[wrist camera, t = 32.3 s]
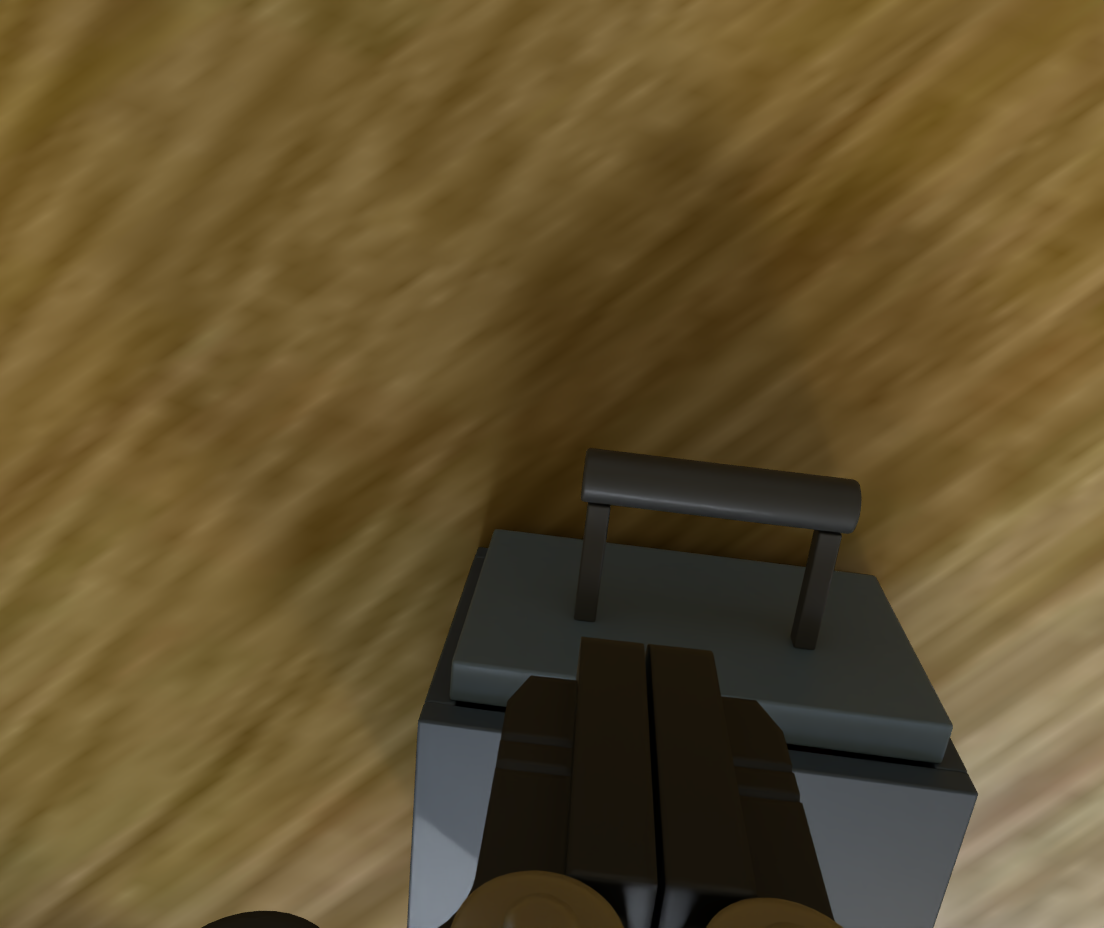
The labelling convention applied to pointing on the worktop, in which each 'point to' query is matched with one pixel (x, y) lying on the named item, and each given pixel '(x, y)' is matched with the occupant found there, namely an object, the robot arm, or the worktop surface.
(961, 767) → the cabinet
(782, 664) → the drawer
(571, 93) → the worktop surface
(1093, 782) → the worktop surface
